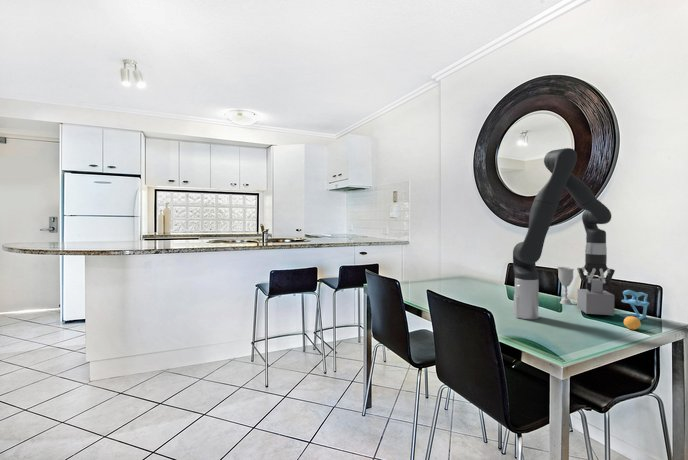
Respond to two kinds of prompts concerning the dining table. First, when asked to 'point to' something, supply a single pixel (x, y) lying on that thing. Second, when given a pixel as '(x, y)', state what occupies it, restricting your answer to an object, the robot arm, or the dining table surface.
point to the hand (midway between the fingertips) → (595, 290)
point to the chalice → (565, 281)
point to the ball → (632, 322)
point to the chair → (635, 303)
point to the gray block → (595, 299)
